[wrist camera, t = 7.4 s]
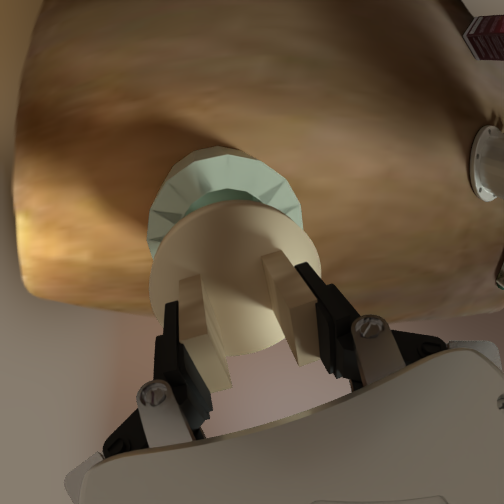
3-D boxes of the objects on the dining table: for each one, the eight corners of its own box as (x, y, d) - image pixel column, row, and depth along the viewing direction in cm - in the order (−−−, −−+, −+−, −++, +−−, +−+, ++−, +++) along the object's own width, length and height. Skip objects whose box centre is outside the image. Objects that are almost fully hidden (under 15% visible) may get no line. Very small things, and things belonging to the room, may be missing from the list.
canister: (200, 124, 23) (204, 123, 16) (294, 188, 28) (330, 212, 21) (139, 223, 26) (122, 261, 19) (232, 273, 30) (246, 320, 23)
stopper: (280, 169, 16) (360, 214, 8) (300, 290, 19) (357, 377, 12) (136, 211, 15) (95, 292, 8) (183, 325, 19) (190, 429, 11)
